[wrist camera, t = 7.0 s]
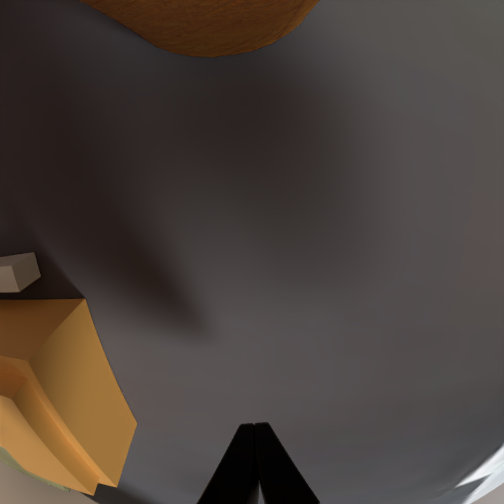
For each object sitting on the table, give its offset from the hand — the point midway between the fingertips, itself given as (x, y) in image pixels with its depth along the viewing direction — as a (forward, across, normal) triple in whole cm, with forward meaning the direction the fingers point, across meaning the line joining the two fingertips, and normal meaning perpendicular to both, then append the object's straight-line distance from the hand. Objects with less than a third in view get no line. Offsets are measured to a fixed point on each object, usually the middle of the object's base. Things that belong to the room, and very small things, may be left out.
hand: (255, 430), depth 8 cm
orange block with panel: (+3, +10, 0) cm, 10 cm away
